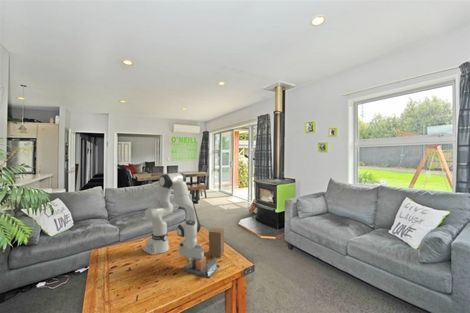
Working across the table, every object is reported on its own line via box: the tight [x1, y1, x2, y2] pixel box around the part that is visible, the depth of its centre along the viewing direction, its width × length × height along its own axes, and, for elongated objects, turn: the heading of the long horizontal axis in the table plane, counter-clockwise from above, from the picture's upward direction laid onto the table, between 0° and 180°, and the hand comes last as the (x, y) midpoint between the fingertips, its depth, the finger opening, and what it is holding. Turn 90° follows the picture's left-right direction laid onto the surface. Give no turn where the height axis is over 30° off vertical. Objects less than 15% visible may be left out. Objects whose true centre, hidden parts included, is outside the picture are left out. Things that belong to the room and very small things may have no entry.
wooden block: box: [208, 226, 225, 258], centre depth 167 cm, size 10×10×20 cm
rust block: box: [196, 256, 207, 270], centre depth 146 cm, size 4×7×6 cm, turn 157°
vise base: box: [182, 257, 220, 279], centre depth 146 cm, size 22×14×8 cm, turn 67°
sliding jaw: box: [190, 258, 197, 269], centre depth 148 cm, size 2×11×6 cm, turn 157°
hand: (191, 262), depth 149 cm, fingers closed
